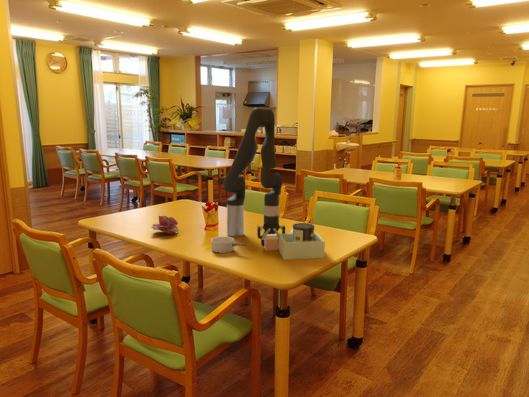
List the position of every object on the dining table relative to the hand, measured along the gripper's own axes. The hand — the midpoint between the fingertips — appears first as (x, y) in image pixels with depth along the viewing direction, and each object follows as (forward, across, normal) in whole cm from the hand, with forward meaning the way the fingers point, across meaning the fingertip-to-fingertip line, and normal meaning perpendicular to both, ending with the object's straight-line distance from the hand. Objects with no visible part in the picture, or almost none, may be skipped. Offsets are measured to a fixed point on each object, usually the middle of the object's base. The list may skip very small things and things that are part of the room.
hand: (271, 246), depth 206 cm
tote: (+1, +13, -9) cm, 16 cm away
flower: (+1, -55, +34) cm, 65 cm away
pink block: (+1, 0, 0) cm, 1 cm away
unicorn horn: (+2, +20, +10) cm, 22 cm away
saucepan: (+2, -21, -3) cm, 21 cm away
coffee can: (+1, +14, -10) cm, 17 cm away
